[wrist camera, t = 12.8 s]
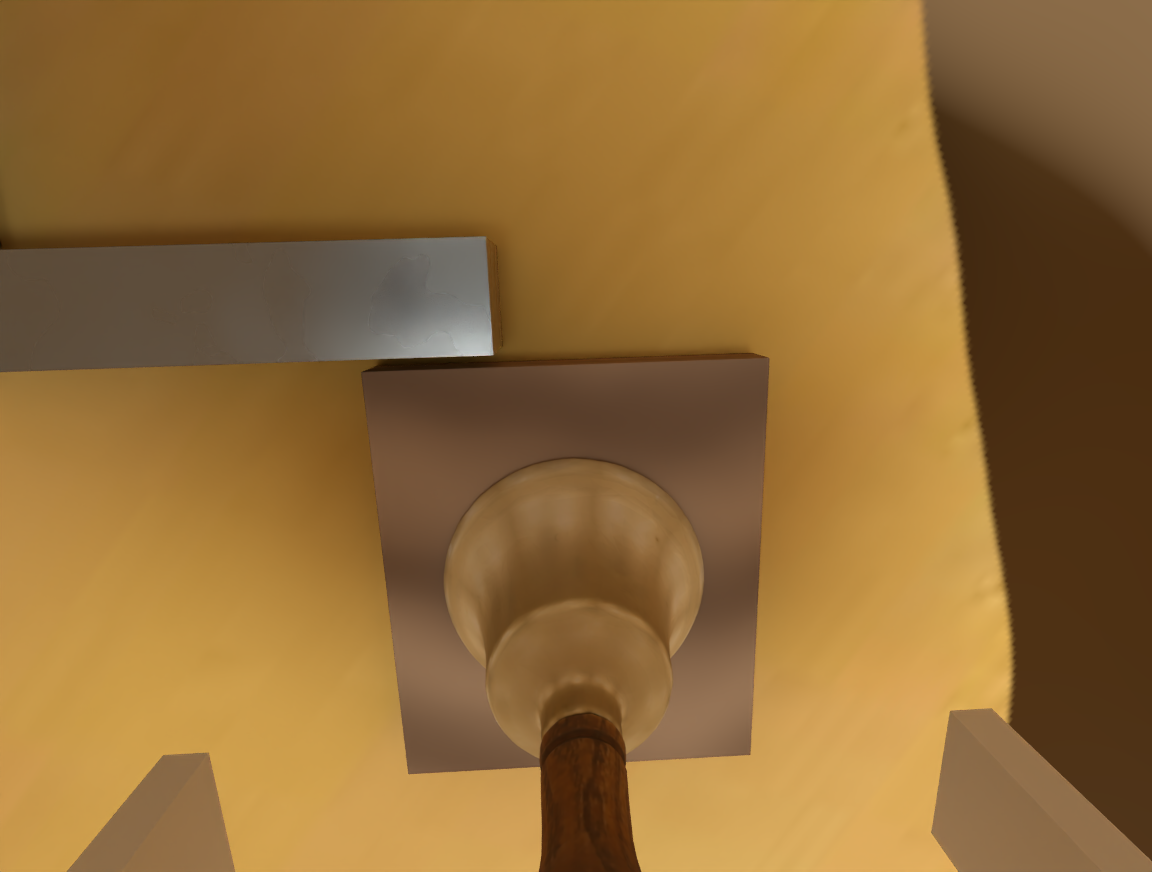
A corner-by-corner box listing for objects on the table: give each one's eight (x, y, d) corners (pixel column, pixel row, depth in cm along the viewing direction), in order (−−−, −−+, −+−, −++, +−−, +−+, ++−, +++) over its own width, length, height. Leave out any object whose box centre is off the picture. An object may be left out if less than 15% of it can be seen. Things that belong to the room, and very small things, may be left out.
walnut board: (376, 365, 18) (361, 372, 17) (752, 353, 19) (769, 357, 17) (418, 741, 22) (408, 774, 20) (737, 724, 22) (750, 754, 21)
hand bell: (402, 634, 19) (-274, 2174, 3) (514, 411, 17) (194, 1398, 2) (625, 728, 20) (873, 2183, 5) (749, 527, 19) (1763, 1719, 3)
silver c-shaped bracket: (-236, -352, 14) (-448, -525, 11) (461, -349, 14) (438, -513, 11) (-38, 363, 18) (-153, 377, 15) (502, 345, 18) (493, 355, 15)
